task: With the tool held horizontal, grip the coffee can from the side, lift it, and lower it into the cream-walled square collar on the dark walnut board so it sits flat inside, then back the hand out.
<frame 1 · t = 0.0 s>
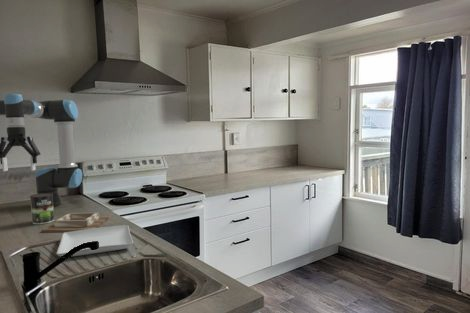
hand: (19, 170, 174), 28 cm above the table, tool pointing down, fingers open, 13 cm apart
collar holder: (78, 224, 179), on the table
square plate: (96, 246, 148), on the table
coffee can: (43, 222, 186), on the table
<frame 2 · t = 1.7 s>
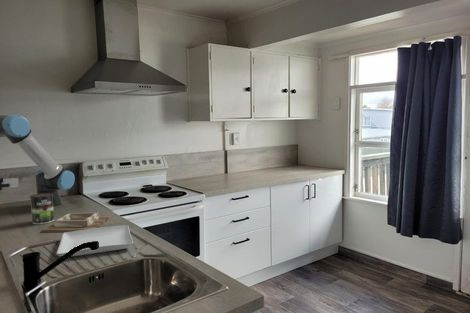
hand: (18, 182, 179), 22 cm above the table, tool horizontal, fingers open, 13 cm apart
nothing on the table moved.
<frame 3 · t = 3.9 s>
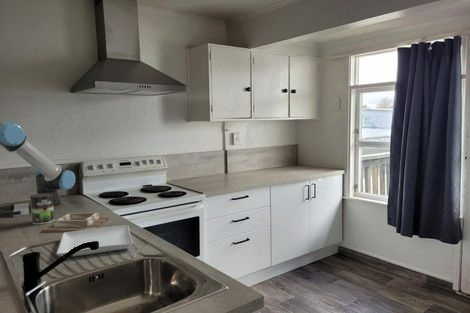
hand: (28, 208, 182), 8 cm above the table, tool horizontal, fingers open, 13 cm apart
nothing on the table moved.
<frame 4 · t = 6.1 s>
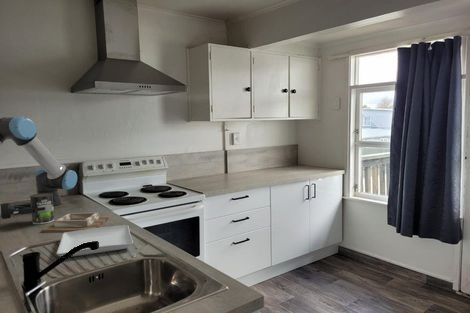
hand: (51, 205, 187), 8 cm above the table, tool horizontal, fingers closed on coffee can, 10 cm apart
coffee can: (43, 222, 186), on the table, touching gripper
everything else where it was.
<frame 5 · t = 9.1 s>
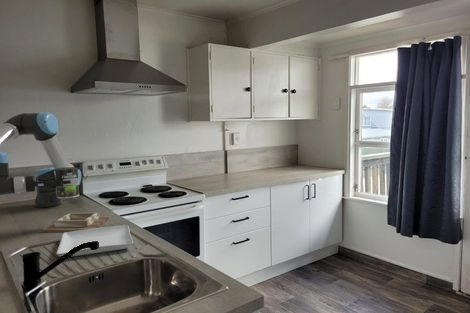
hand: (76, 179, 178), 22 cm above the table, tool horizontal, fingers closed on coffee can, 10 cm apart
coffee can: (68, 197, 177), point 14 cm above the table, touching gripper
everything else where it was.
when the fingers open (10 cm above the table, at t = 12.2 s): coffee can drops 1 cm, resting on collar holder.
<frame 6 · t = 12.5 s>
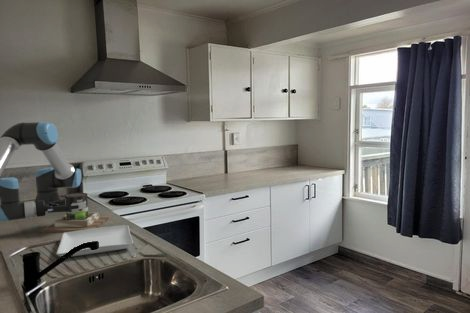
hand: (84, 202, 179), 10 cm above the table, tool horizontal, fingers open, 13 cm apart
coffee can: (78, 222, 179), point 1 cm above the table, touching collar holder
everything else where it was.
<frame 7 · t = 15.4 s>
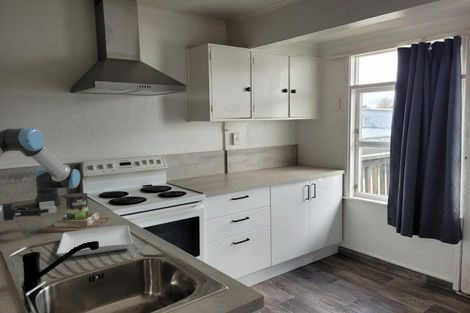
hand: (55, 206, 173), 11 cm above the table, tool horizontal, fingers open, 13 cm apart
nothing on the table moved.
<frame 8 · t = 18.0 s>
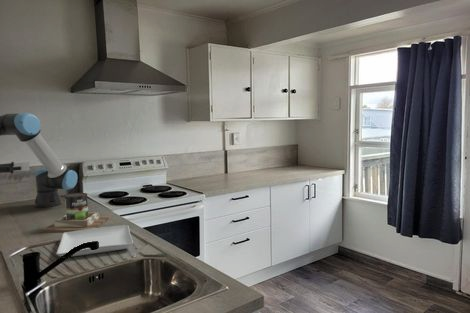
hand: (29, 166, 174), 30 cm above the table, tool horizontal, fingers open, 13 cm apart
nothing on the table moved.
at the end: coffee can 0.1 cm off-centre on the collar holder, point 0.8 cm above the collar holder's base; coffee can tilted 0°; the gripper is holding nothing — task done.
